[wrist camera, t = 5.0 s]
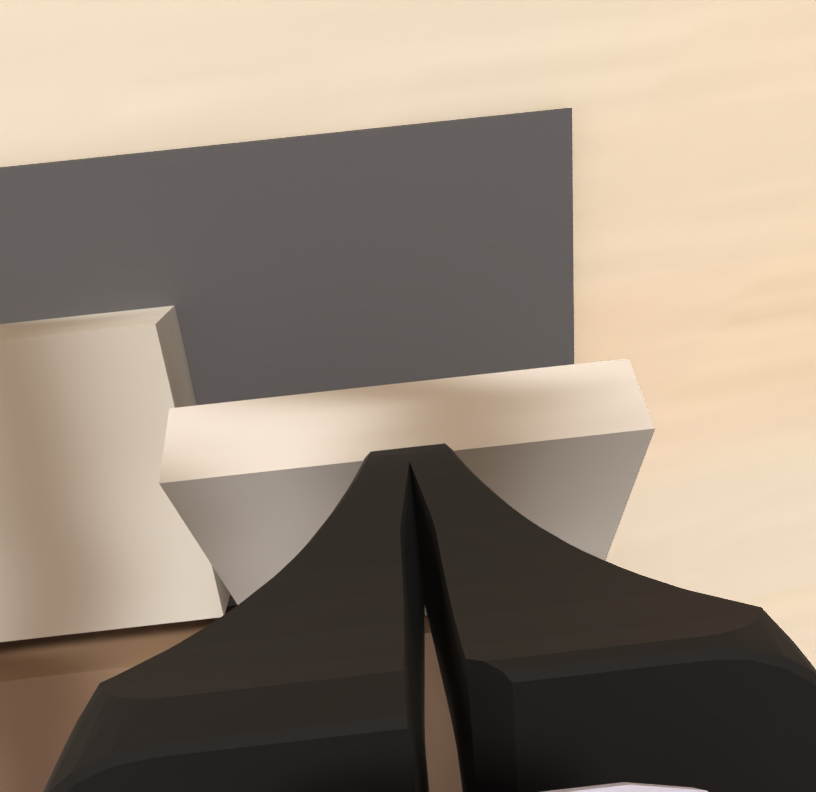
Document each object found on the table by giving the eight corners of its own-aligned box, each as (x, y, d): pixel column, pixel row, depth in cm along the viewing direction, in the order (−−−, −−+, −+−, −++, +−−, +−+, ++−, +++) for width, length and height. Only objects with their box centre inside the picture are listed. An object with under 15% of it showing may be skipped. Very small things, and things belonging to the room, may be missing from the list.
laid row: (18, 822, 21) (-13, 887, 19) (-63, 638, 19) (-107, 693, 17) (574, 758, 21) (593, 816, 20) (572, 566, 19) (594, 614, 17)
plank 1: (-87, 613, 18) (-125, 656, 16) (-201, 345, 15) (-258, 368, 14) (235, 577, 18) (224, 616, 16) (174, 305, 15) (155, 324, 14)
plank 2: (259, 575, 18) (257, 634, 17) (168, 408, 12) (158, 483, 11) (576, 539, 18) (591, 597, 17) (628, 358, 12) (655, 428, 12)
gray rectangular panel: (-65, 632, 18) (-72, 639, 18) (-255, 194, 14) (-268, 196, 14) (572, 560, 19) (575, 567, 18) (568, 107, 15) (571, 107, 14)
